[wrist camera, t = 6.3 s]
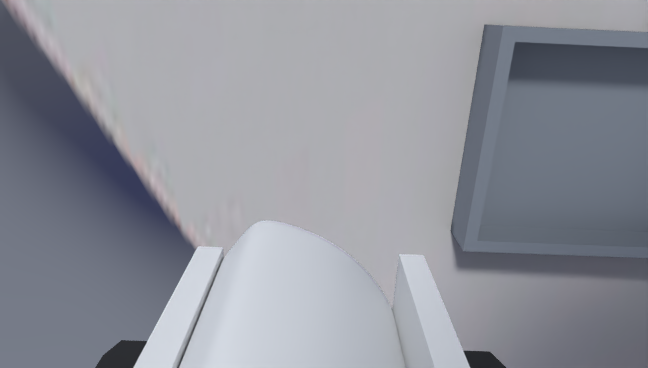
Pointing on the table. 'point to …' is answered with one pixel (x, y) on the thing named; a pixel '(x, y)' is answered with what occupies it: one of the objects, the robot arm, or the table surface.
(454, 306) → the table surface
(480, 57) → the tray
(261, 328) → the eye dropper bottle
